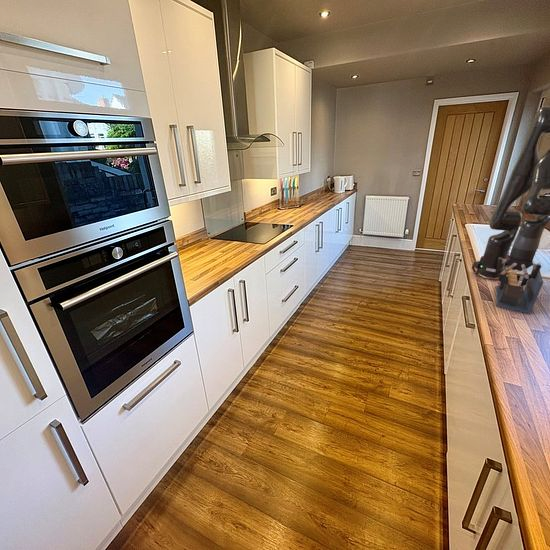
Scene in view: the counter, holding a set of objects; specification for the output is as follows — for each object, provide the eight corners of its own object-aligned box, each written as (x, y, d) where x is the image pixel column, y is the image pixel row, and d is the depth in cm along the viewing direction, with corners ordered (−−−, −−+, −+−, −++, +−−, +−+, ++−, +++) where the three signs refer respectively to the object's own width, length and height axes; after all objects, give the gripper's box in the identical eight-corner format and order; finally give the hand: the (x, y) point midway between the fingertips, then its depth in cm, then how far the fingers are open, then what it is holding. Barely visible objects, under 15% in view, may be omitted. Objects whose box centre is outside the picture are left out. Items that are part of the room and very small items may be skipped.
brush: (503, 275, 131) (506, 268, 130) (517, 277, 128) (520, 270, 127) (504, 295, 115) (507, 287, 113) (520, 298, 112) (523, 291, 111)
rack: (496, 287, 135) (506, 259, 129) (526, 293, 130) (538, 264, 123) (496, 306, 121) (507, 275, 115) (530, 314, 115) (543, 282, 109)
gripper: (547, 247, 114) (532, 284, 121) (502, 240, 122) (490, 276, 129) (550, 253, 109) (533, 291, 116) (502, 246, 116) (490, 282, 123)
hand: (511, 283), depth 122 cm, fingers open, 6 cm apart
